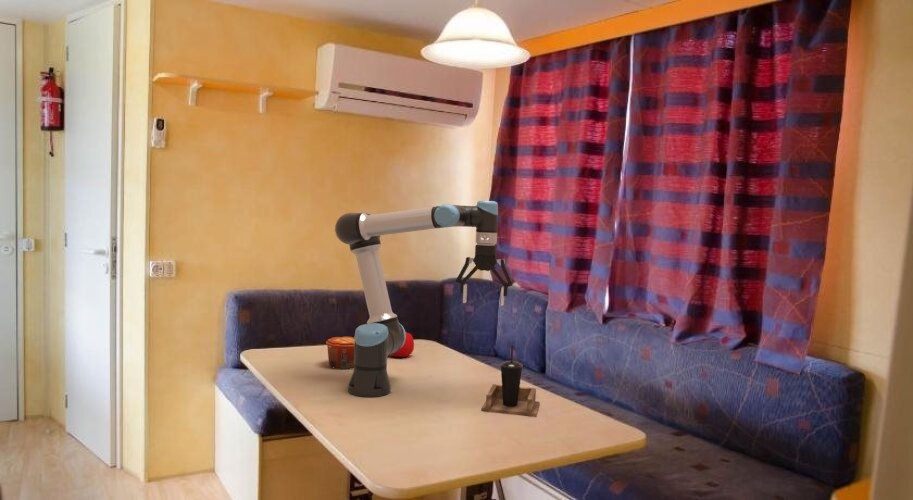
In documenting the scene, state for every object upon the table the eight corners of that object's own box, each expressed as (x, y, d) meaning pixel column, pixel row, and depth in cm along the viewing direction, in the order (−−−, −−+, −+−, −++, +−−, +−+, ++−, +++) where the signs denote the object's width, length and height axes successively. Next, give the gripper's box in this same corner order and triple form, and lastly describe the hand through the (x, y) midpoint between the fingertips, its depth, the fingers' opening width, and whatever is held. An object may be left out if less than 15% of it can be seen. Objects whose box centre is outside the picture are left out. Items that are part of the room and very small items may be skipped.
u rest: (481, 410, 214) (481, 394, 214) (488, 399, 228) (488, 383, 227) (535, 416, 210) (536, 400, 210) (539, 404, 224) (540, 388, 224)
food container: (372, 365, 270) (373, 339, 269) (346, 372, 256) (347, 345, 256) (343, 359, 278) (344, 334, 278) (316, 366, 265) (317, 340, 264)
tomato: (412, 360, 282) (413, 334, 281) (381, 359, 282) (382, 332, 281) (414, 354, 294) (415, 328, 293) (385, 352, 294) (386, 327, 293)
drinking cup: (520, 408, 214) (522, 348, 213) (497, 406, 216) (499, 347, 215) (522, 402, 222) (524, 344, 221) (500, 400, 224) (502, 342, 222)
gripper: (449, 243, 229) (446, 302, 230) (519, 246, 224) (516, 307, 225) (453, 242, 236) (451, 300, 238) (522, 245, 231) (519, 305, 233)
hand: (483, 304), depth 231 cm, fingers open, 13 cm apart
